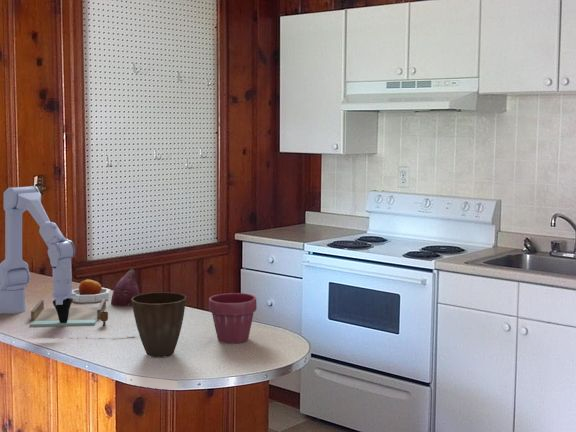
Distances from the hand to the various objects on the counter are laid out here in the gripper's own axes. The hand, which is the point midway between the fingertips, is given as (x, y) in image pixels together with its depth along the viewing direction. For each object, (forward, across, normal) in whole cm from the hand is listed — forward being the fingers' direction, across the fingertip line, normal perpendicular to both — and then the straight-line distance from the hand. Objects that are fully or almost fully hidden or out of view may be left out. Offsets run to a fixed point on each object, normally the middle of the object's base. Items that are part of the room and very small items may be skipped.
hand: (63, 322), depth 246 cm
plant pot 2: (+2, -19, -52) cm, 55 cm away
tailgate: (0, +5, 0) cm, 5 cm away
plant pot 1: (+2, -31, -31) cm, 44 cm away
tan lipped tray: (+2, +13, 0) cm, 13 cm away
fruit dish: (+2, +41, -3) cm, 41 cm away
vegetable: (+2, +27, -17) cm, 32 cm away
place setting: (+2, -1, -24) cm, 24 cm away
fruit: (+2, +41, -3) cm, 41 cm away
